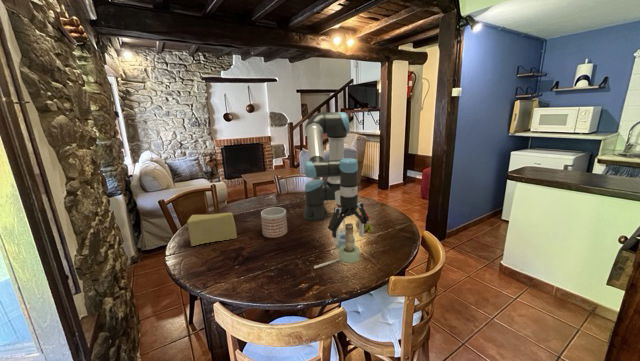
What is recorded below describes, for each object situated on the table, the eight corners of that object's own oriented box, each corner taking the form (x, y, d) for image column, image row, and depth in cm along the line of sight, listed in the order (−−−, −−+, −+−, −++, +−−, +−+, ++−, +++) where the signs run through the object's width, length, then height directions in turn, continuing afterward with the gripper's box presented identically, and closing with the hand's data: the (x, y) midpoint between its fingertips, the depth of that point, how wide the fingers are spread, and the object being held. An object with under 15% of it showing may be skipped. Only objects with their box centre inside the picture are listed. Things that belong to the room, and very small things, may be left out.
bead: (335, 255, 124) (335, 247, 123) (351, 250, 128) (351, 242, 127) (346, 264, 116) (346, 256, 115) (363, 259, 120) (363, 251, 119)
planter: (292, 231, 150) (291, 210, 146) (272, 240, 140) (270, 218, 137) (277, 225, 159) (275, 205, 156) (257, 233, 149) (255, 212, 146)
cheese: (237, 234, 148) (234, 209, 144) (236, 242, 139) (232, 216, 135) (195, 239, 144) (191, 213, 140) (190, 248, 135) (186, 220, 131)
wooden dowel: (343, 256, 122) (343, 224, 118) (350, 254, 124) (350, 222, 120) (348, 260, 119) (348, 227, 115) (354, 258, 121) (354, 225, 117)
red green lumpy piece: (361, 237, 144) (376, 230, 144) (353, 221, 141) (368, 213, 141) (358, 232, 150) (373, 225, 150) (350, 216, 147) (365, 209, 147)
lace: (313, 268, 114) (313, 266, 114) (339, 259, 120) (339, 257, 120) (314, 269, 113) (314, 267, 113) (340, 260, 119) (340, 258, 119)
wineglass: (354, 229, 150) (354, 190, 144) (350, 237, 141) (349, 195, 135) (338, 227, 153) (337, 189, 147) (333, 235, 144) (332, 194, 138)
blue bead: (332, 244, 134) (332, 237, 133) (344, 238, 140) (344, 231, 139) (345, 250, 127) (345, 243, 126) (358, 244, 133) (358, 237, 132)
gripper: (327, 202, 105) (329, 250, 111) (377, 192, 116) (376, 236, 122) (319, 197, 112) (320, 243, 117) (366, 188, 123) (366, 230, 128)
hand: (349, 239), depth 119 cm, fingers open, 13 cm apart
